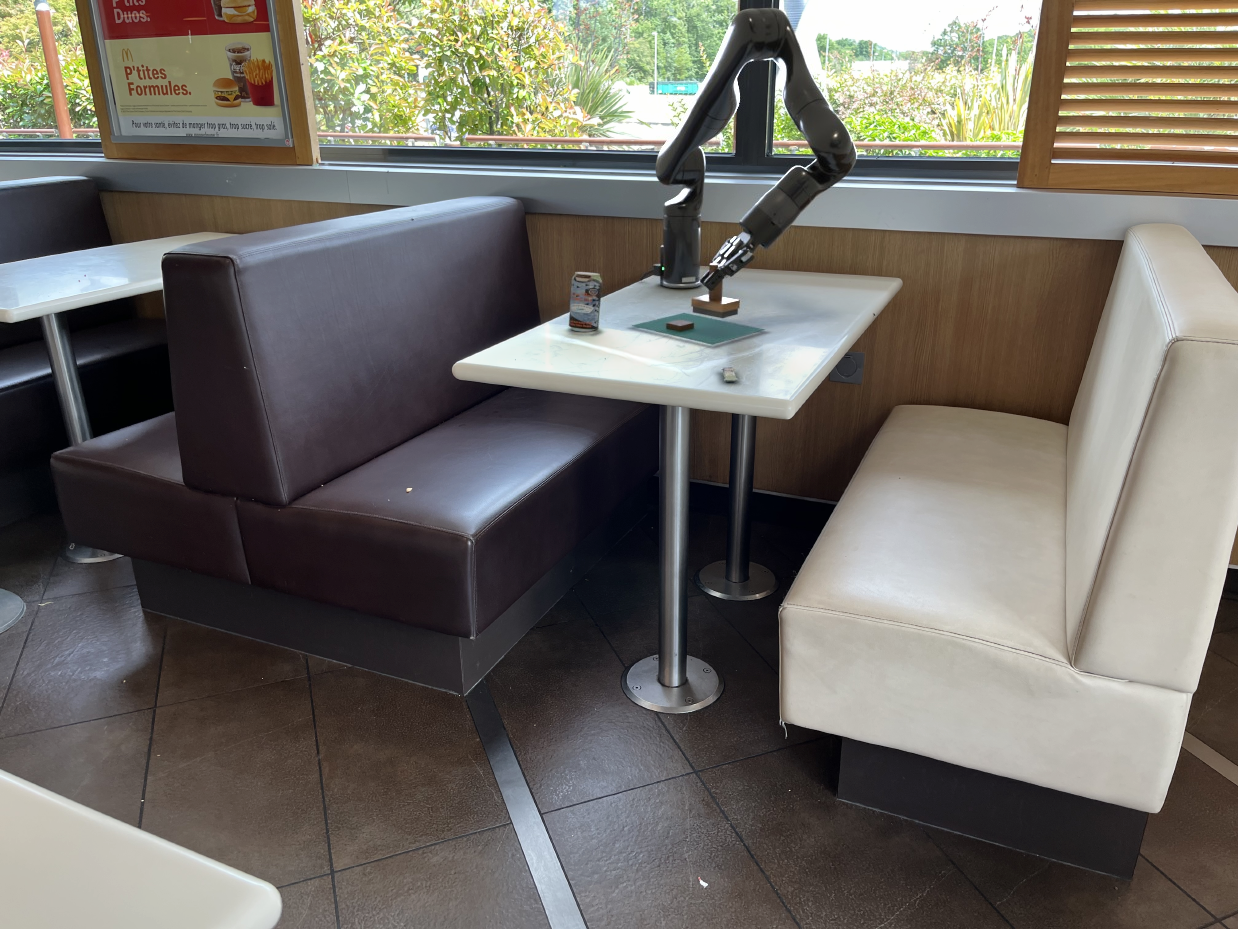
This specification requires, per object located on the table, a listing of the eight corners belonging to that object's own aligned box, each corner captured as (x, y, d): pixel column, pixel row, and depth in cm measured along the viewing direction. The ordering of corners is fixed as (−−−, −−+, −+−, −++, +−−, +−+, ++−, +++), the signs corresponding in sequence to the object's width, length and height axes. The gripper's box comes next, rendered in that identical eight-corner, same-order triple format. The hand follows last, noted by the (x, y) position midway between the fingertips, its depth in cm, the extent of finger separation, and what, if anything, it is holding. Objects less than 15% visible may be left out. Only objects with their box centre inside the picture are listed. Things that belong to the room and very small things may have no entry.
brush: (691, 312, 173) (691, 263, 170) (708, 308, 176) (709, 259, 173) (722, 318, 168) (723, 268, 164) (739, 314, 171) (741, 264, 167)
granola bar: (738, 383, 147) (738, 377, 146) (724, 383, 147) (724, 377, 146) (734, 371, 153) (734, 365, 153) (720, 371, 153) (720, 365, 153)
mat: (631, 328, 183) (631, 325, 183) (684, 315, 193) (684, 312, 193) (712, 347, 168) (712, 344, 168) (765, 332, 178) (765, 329, 178)
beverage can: (563, 333, 180) (561, 273, 175) (581, 325, 186) (580, 267, 181) (590, 336, 177) (589, 276, 172) (608, 328, 183) (607, 270, 178)
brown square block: (666, 328, 180) (666, 322, 180) (679, 325, 183) (679, 319, 182) (680, 331, 177) (680, 325, 177) (694, 328, 180) (694, 322, 179)
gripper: (746, 199, 172) (683, 266, 175) (767, 207, 159) (699, 279, 162) (772, 227, 174) (709, 292, 178) (794, 236, 162) (726, 306, 165)
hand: (705, 285), depth 170 cm, fingers closed on brush, 2 cm apart
